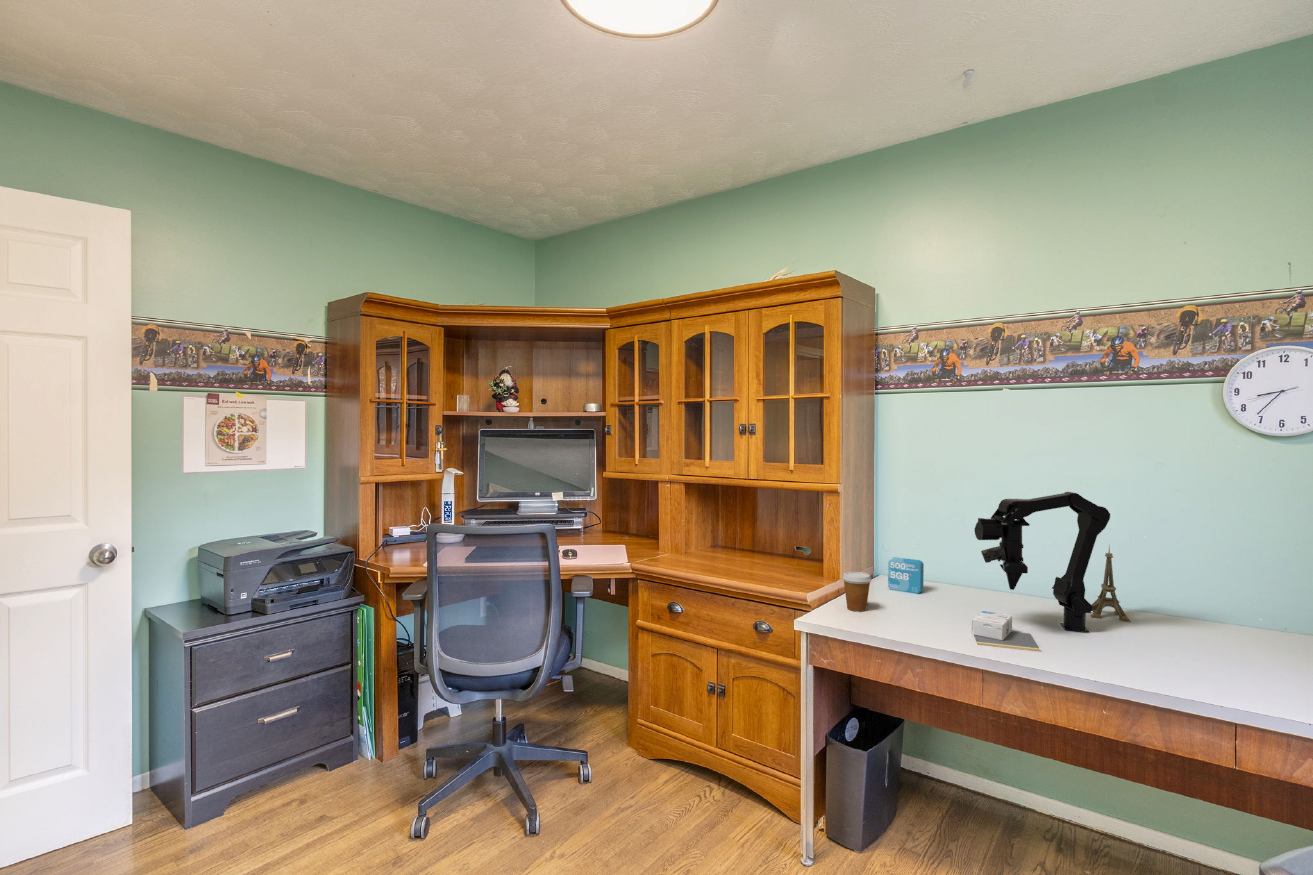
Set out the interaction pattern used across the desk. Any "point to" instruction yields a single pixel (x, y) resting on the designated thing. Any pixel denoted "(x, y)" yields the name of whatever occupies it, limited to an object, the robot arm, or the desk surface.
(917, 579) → the data package
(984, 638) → the mat
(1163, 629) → the desk surface
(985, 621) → the ink box
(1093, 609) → the eiffel tower
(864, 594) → the disposable coffee cup
